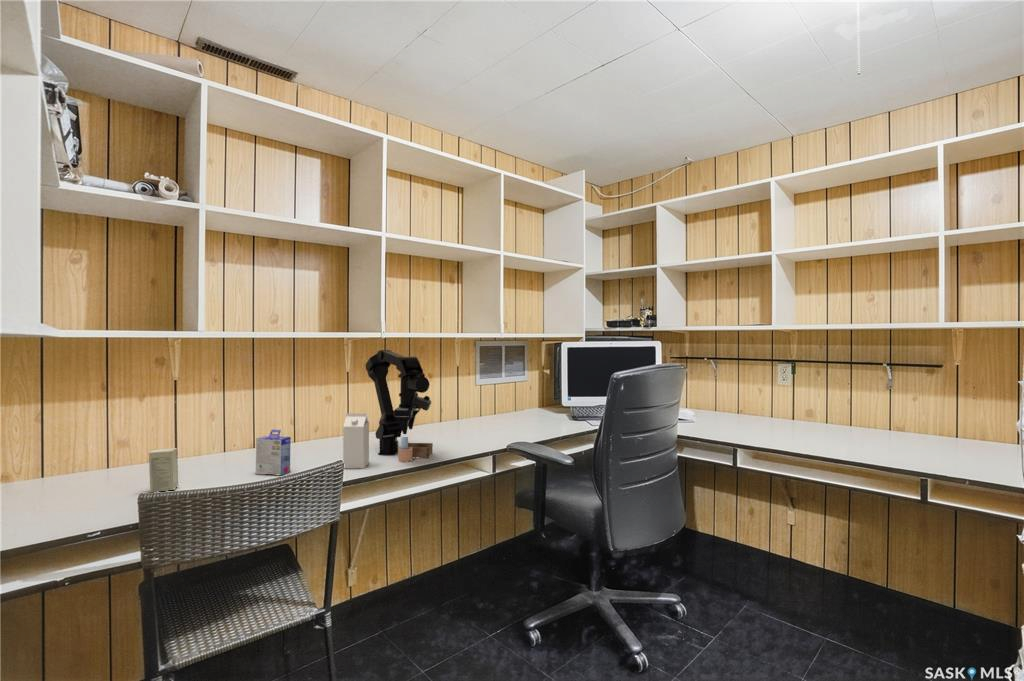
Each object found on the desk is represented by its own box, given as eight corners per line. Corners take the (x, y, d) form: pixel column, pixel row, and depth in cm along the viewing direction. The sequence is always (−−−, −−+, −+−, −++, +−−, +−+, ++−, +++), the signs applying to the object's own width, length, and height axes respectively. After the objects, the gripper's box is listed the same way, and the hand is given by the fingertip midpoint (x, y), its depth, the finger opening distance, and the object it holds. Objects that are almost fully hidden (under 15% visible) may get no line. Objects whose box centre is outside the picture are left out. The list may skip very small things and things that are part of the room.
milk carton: (349, 463, 182) (349, 411, 182) (368, 463, 182) (369, 411, 182) (343, 468, 175) (343, 415, 175) (363, 469, 175) (363, 415, 175)
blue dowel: (400, 460, 186) (397, 438, 186) (402, 458, 189) (399, 437, 189) (410, 459, 186) (407, 437, 186) (411, 457, 189) (408, 436, 189)
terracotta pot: (396, 462, 185) (396, 449, 185) (400, 458, 190) (400, 446, 190) (410, 462, 185) (410, 449, 185) (413, 458, 190) (413, 446, 190)
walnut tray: (402, 457, 191) (402, 447, 191) (407, 452, 199) (407, 442, 199) (428, 458, 191) (428, 447, 191) (432, 453, 199) (432, 443, 199)
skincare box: (178, 487, 154) (178, 447, 153) (173, 491, 149) (173, 450, 149) (154, 488, 152) (154, 448, 152) (148, 493, 148) (148, 452, 147)
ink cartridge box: (291, 471, 171) (291, 429, 171) (281, 476, 166) (281, 432, 166) (265, 470, 173) (265, 428, 173) (254, 474, 168) (254, 431, 168)
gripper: (424, 393, 178) (424, 437, 178) (434, 387, 196) (433, 427, 196) (393, 393, 178) (393, 436, 178) (406, 387, 196) (405, 426, 197)
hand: (407, 431), depth 187 cm, fingers open, 9 cm apart
